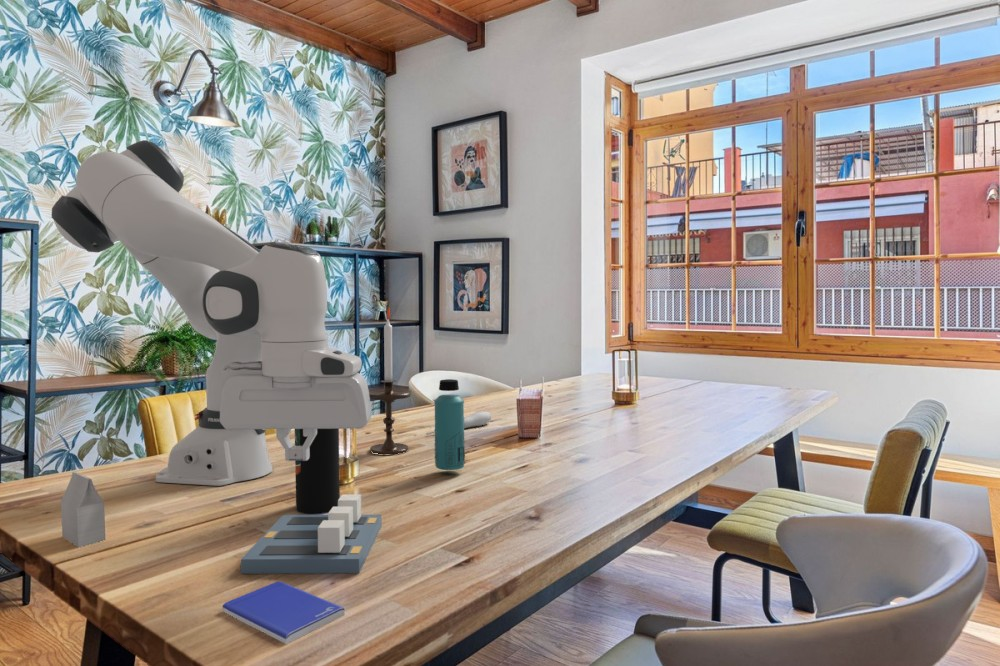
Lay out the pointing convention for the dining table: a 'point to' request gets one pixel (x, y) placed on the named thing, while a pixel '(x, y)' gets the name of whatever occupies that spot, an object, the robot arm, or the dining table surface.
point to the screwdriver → (474, 420)
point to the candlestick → (388, 397)
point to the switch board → (309, 547)
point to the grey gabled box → (82, 512)
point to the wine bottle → (318, 473)
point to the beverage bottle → (449, 428)
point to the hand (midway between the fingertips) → (297, 459)
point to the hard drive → (283, 611)
